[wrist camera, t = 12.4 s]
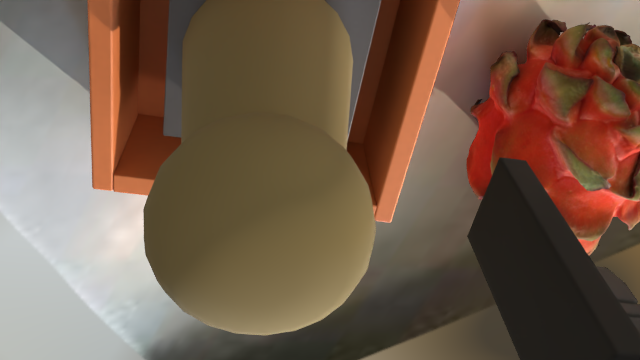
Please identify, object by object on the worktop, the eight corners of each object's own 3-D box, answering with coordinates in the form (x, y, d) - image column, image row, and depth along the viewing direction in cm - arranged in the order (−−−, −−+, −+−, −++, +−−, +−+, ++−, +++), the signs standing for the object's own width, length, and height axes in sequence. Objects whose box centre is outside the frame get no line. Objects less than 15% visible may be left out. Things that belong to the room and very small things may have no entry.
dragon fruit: (552, -45, 27) (525, 160, 35) (418, 37, 23) (423, 244, 31) (766, 10, 21) (675, 237, 29) (634, 128, 18) (573, 348, 26)
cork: (239, -61, 19) (201, 93, 10) (387, 42, 21) (467, 245, 12) (150, 85, 22) (57, 312, 13) (291, 163, 24) (298, 405, 15)
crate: (122, 120, 28) (91, 189, 24) (124, -175, 22) (82, -159, 17) (373, 153, 30) (391, 223, 25) (445, -110, 23) (486, -81, 19)
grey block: (178, 84, 27) (162, 135, 23) (188, -84, 23) (171, -56, 19) (334, 106, 28) (343, 159, 24) (369, -52, 24) (386, -18, 20)
